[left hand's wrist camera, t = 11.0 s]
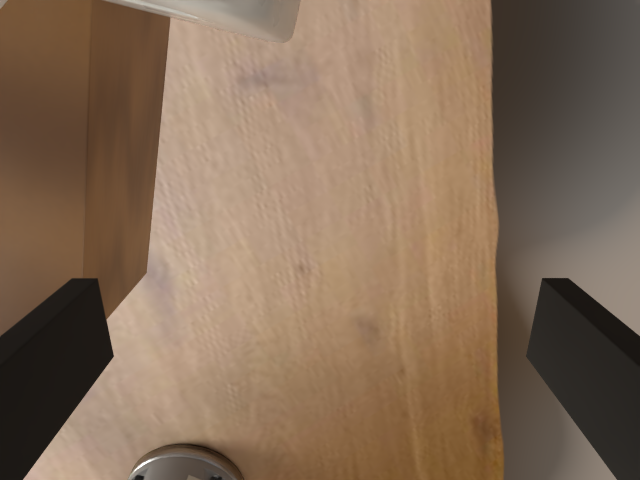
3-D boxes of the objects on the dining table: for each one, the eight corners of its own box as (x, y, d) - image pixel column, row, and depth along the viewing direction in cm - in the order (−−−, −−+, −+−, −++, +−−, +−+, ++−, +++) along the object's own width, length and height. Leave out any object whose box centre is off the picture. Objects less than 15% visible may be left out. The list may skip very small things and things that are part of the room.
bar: (146, 273, 30) (79, 350, 21) (70, 258, 29) (-28, 331, 21) (180, -91, 22) (99, -191, 14) (79, -119, 22) (-69, -240, 13)
